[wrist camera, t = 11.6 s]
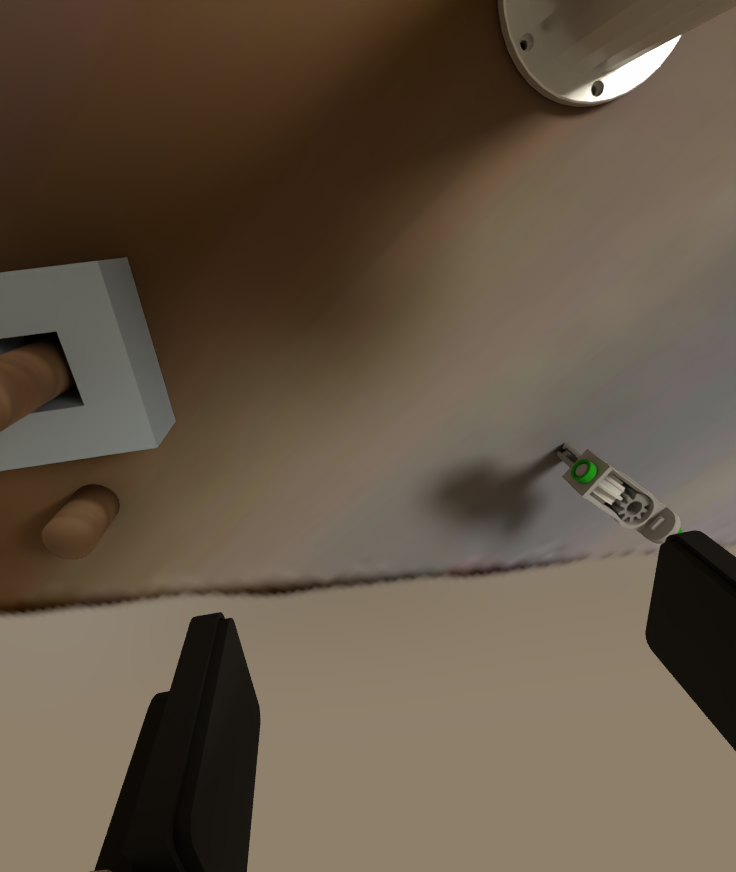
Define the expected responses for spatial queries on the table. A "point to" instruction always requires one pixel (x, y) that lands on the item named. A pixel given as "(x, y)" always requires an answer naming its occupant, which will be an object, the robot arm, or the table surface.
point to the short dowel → (81, 522)
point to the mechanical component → (618, 495)
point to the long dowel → (32, 378)
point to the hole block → (85, 364)
